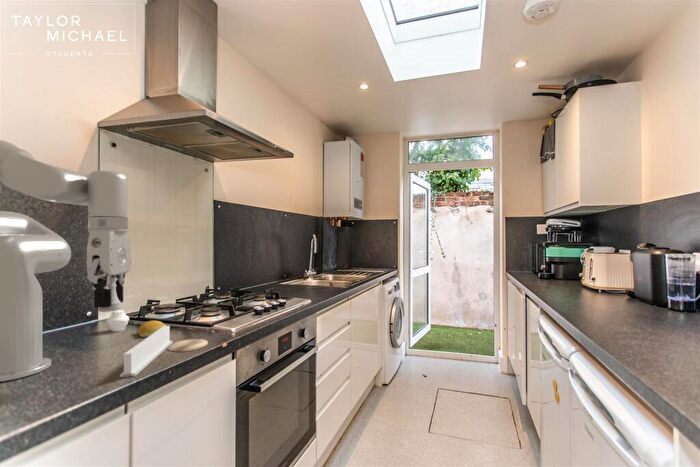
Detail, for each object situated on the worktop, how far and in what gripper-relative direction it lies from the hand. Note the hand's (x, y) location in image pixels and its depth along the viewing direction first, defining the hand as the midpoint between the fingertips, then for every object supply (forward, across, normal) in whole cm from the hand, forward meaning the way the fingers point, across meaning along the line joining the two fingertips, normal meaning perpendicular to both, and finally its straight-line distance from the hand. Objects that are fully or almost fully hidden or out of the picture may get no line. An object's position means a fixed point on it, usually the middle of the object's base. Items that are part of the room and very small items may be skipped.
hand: (109, 304), depth 77 cm
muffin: (+15, +37, +17) cm, 44 cm away
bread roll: (+16, +32, +4) cm, 36 cm away
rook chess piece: (+2, 0, 0) cm, 2 cm away
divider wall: (+15, +8, -5) cm, 18 cm away
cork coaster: (+15, +16, -12) cm, 25 cm away
